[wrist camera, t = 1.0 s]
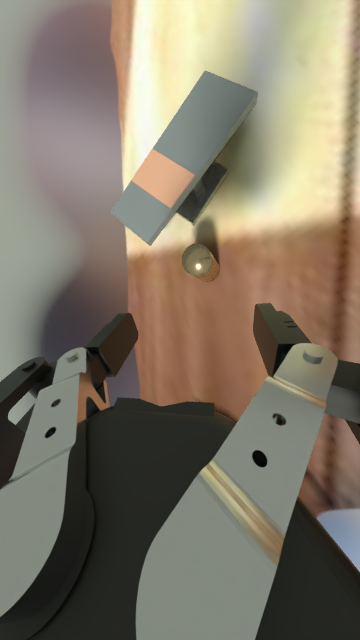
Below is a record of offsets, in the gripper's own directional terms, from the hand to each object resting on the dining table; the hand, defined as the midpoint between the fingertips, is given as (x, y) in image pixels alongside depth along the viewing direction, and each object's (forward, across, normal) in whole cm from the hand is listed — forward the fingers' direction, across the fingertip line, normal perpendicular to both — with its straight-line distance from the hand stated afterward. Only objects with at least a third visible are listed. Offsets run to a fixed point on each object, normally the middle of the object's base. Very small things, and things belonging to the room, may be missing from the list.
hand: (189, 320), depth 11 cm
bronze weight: (+24, -1, +3) cm, 24 cm away
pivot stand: (+32, +2, -12) cm, 34 cm away
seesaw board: (+28, +3, -14) cm, 31 cm away
